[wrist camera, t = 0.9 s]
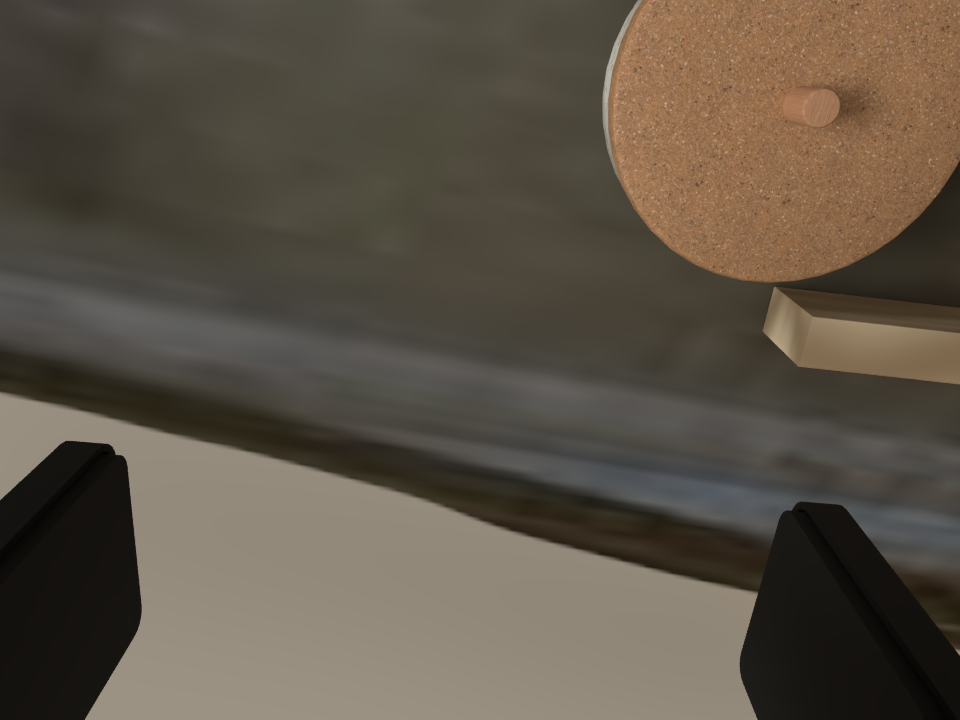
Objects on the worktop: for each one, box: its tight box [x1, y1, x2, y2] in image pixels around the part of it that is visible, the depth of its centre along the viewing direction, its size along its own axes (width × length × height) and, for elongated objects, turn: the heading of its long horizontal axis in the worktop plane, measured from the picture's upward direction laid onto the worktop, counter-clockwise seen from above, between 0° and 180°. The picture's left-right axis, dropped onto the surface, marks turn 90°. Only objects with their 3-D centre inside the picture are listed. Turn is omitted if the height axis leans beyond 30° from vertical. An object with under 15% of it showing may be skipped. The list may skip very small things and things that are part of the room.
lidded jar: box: [603, 0, 960, 283], centre depth 25 cm, size 11×11×9 cm
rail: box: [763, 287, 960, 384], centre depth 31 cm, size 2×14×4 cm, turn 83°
